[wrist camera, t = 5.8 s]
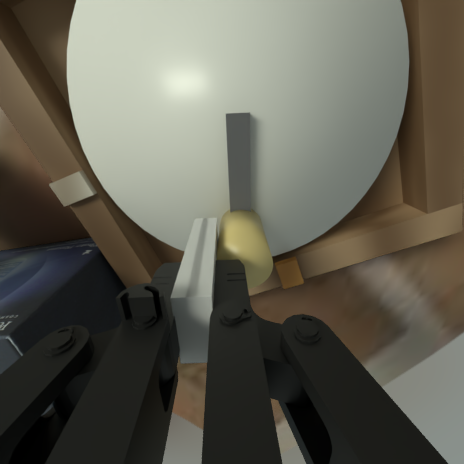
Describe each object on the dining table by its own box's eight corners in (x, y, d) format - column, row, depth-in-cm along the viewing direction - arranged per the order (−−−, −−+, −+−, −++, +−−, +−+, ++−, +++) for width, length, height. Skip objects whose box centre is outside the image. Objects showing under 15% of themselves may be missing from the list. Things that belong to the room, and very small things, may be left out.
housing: (396, -268, 10) (491, -491, 6) (422, 212, 18) (468, 234, 15) (-27, -11, 13) (-125, -61, 9) (164, 295, 22) (150, 329, 18)
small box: (119, 226, 19) (5, 334, 9) (145, 292, 22) (78, 429, 12) (-5, 246, 20) (-231, 366, 10) (35, 308, 22) (-112, 448, 13)
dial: (42, -80, 11) (-185, -321, 5) (423, -102, 11) (665, -383, 5) (126, 250, 18) (75, 314, 12) (356, 242, 18) (419, 302, 12)
